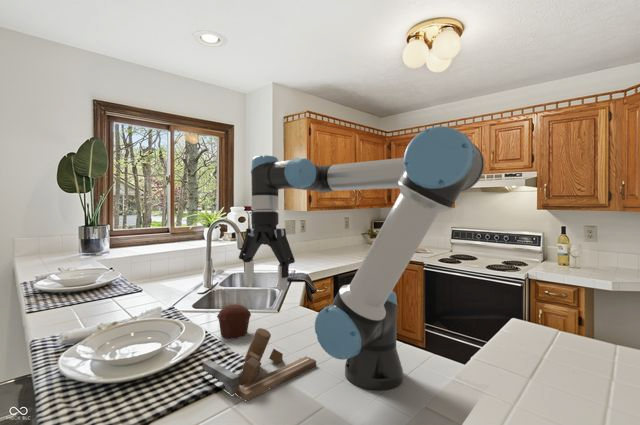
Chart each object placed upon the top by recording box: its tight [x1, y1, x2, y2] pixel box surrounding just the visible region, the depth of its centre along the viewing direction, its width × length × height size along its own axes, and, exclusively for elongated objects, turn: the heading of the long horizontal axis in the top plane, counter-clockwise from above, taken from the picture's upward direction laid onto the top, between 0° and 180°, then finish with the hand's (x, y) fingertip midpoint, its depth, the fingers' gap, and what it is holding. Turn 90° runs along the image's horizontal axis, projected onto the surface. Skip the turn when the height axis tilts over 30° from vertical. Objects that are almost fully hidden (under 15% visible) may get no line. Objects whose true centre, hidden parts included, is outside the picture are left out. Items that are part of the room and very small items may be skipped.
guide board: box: [202, 356, 317, 401], centre depth 88 cm, size 17×25×4 cm
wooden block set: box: [239, 327, 284, 386], centre depth 88 cm, size 18×9×10 cm, turn 164°
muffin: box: [216, 303, 252, 340], centre depth 116 cm, size 12×11×10 cm
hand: (265, 287), depth 92 cm, fingers open, 13 cm apart
